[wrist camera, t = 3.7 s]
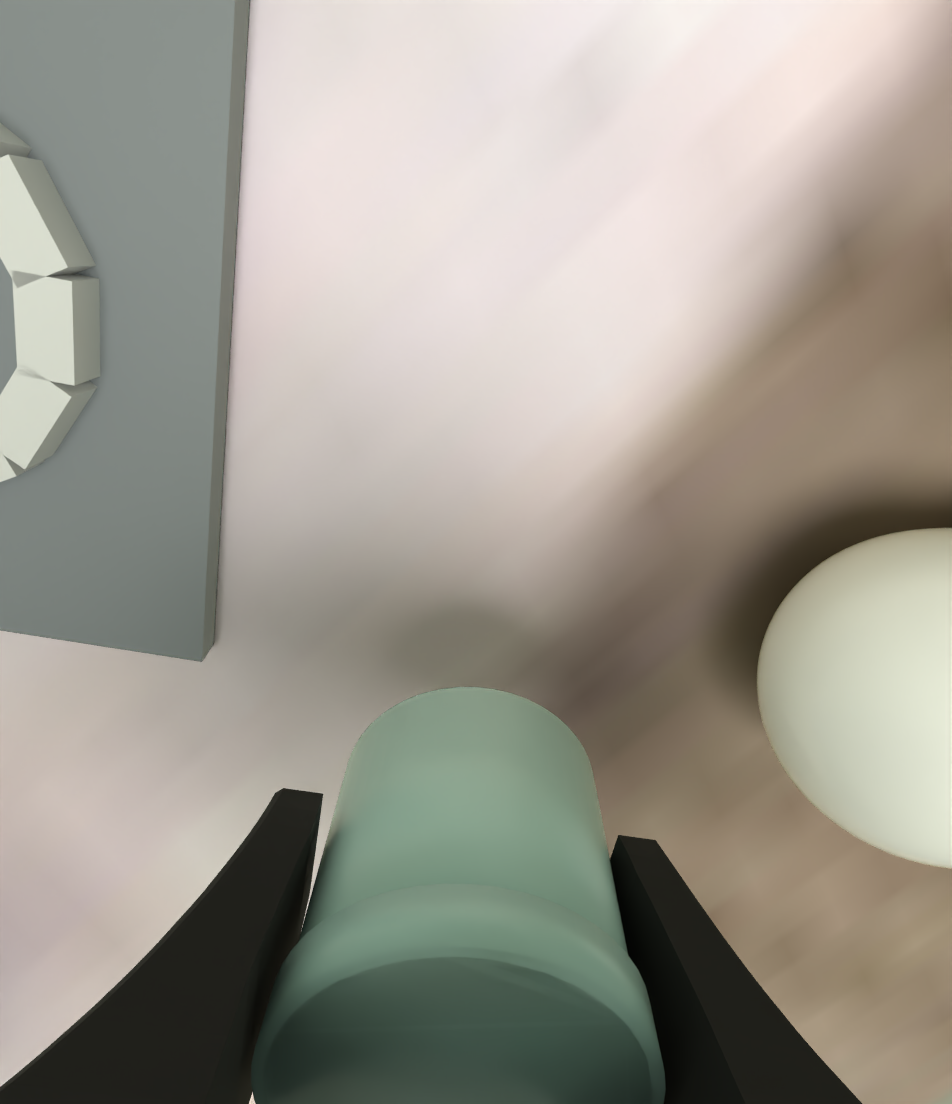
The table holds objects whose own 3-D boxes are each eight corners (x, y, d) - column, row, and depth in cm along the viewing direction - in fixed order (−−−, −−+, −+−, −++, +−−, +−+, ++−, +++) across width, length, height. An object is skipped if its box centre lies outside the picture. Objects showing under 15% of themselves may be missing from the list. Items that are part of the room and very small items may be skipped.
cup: (567, 909, 14) (605, 1235, 9) (321, 870, 14) (236, 1185, 9) (634, 706, 12) (722, 984, 8) (354, 656, 12) (269, 914, 7)
